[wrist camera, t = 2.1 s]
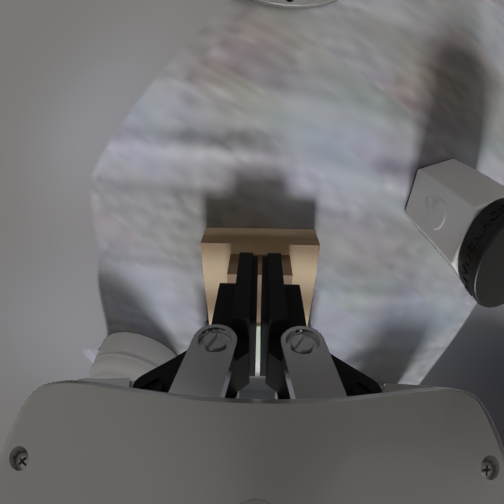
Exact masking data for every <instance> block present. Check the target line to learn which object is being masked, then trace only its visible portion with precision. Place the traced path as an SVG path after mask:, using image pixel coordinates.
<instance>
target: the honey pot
mask: <svg viewBox="0 0 504 504" xmlns="http://www.w3.org/2000/svg"><path fill="white" fill-rule="evenodd" d="M175 357H176V355H175V354H174V352H173V351H171V350H170V349H169V348H167V347H166V346H164V345H163V344H161V343H159V342H157V341H156V340H154V339H152V338H149V337H146V336H143V335H140V334H135V333H129V332H118V333H115V334H111V335H109V336H108V337H107V338H106V339H105V340H104V342H103V344H102V346H101V348H100V350H99V352H98V354H97V356H96V359H95V361H94V363H93V364H92V367H91V370H90V377H91V378H130V379H131V381H134V380H137V379H138V378H139V377H140V376H142V375H143V374H145V373H147V372H149V371H151V370H153V369H155V368H156V367H158V366H160V365H162V364H164V363H166V362H167V361H169V360H171V359H173V358H175Z"/></svg>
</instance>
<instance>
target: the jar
mask: <svg viewBox="0 0 504 504" xmlns="http://www.w3.org/2000/svg"><path fill="white" fill-rule="evenodd" d="M405 214H406V215H407V217H408V218H409V219H410V220H411V221H412V222H413V224H414V225H415V226H416V227H417V228H418V229H419V231H420V232H421V233H422V234H423V235H424V237H425V238H426V239H427V240H428V241H429V242H430V244H431V245H432V246H433V247H434V248H435V249H436V250H437V252H438V253H439V254H440V255H441V256H442V257H443V259H444V260H445V261H446V262H447V263H448V265H449V266H450V267H451V268H452V269H453V271H454V272H455V273H456V274H457V276H458V277H459V278H460V279H461V281H462V283H463V284H464V285H465V288H466V290H467V291H468V292H469V294H470V295H471V296H473V297H474V299H475V300H476V301H477V303H478V304H480V305H481V306H484V307H496V306H499V305H502V304H504V186H503V185H501V184H500V183H498V182H496V181H495V180H493V179H491V178H489V177H488V176H486V175H484V174H482V173H480V172H479V171H477V170H475V169H473V168H471V167H469V166H467V165H465V164H464V163H462V162H460V161H458V160H456V159H450V160H447V161H444V162H440V163H437V164H434V165H431V166H427V167H424V168H421V169H418V171H417V174H416V178H415V181H414V185H413V188H412V191H411V194H410V198H409V201H408V204H407V207H406V210H405Z"/></svg>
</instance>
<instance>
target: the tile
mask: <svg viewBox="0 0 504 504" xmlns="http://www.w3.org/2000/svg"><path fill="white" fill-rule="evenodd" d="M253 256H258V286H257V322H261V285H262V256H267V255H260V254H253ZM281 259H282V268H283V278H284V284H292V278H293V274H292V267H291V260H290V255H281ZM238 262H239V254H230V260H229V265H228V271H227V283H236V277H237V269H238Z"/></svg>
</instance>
